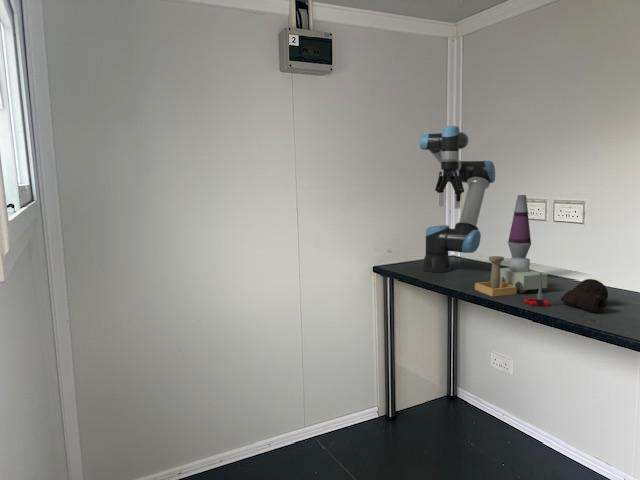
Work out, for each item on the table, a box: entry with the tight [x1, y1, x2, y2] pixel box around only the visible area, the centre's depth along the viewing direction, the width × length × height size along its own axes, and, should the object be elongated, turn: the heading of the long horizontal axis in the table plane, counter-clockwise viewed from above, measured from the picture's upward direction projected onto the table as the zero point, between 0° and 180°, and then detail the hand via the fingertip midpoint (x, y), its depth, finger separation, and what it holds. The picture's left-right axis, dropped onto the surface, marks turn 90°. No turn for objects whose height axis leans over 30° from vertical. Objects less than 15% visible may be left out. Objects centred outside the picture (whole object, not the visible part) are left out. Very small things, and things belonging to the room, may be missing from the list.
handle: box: [488, 255, 505, 289], centre depth 198 cm, size 5×6×15 cm
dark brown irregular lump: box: [560, 278, 609, 313], centre depth 175 cm, size 10×15×15 cm
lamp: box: [507, 194, 532, 258], centre depth 217 cm, size 11×11×40 cm
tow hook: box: [524, 272, 550, 307], centre depth 181 cm, size 8×13×9 cm
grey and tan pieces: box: [474, 257, 549, 297], centre depth 200 cm, size 16×26×13 cm, turn 107°
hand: (448, 207), depth 214 cm, fingers open, 13 cm apart
